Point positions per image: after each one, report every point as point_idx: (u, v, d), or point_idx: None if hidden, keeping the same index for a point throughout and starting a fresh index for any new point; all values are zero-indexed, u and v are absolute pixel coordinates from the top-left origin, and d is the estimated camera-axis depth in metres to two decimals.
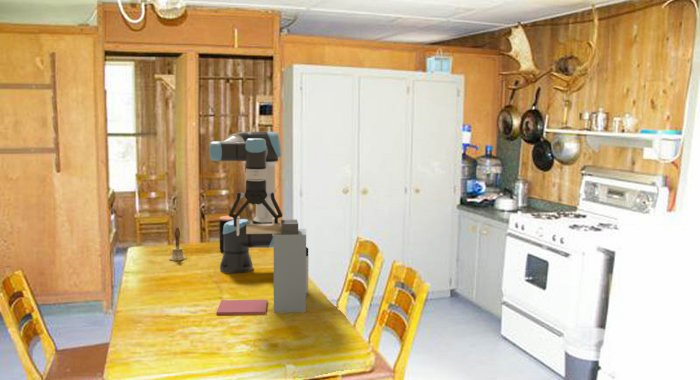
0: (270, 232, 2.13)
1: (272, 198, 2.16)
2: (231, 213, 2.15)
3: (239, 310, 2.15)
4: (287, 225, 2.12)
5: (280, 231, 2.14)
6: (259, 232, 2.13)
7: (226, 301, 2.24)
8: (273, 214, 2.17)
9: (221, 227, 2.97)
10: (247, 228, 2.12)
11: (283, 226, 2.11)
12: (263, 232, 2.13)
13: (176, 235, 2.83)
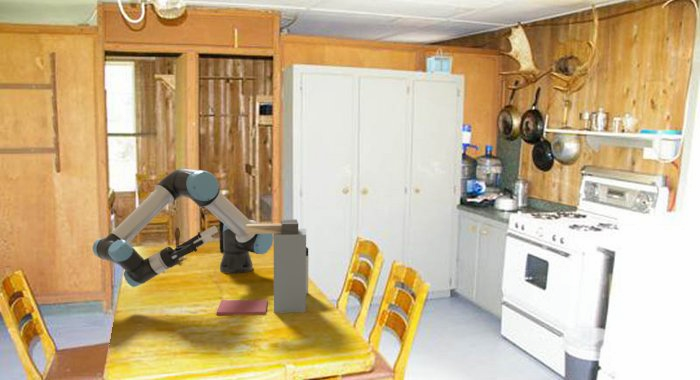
0: (270, 232, 2.13)
1: None
2: None
3: (239, 310, 2.15)
4: (287, 225, 2.12)
5: (280, 231, 2.14)
6: (259, 232, 2.12)
7: (226, 301, 2.24)
8: None
9: (221, 227, 2.97)
10: (247, 228, 2.11)
11: (283, 226, 2.11)
12: (263, 232, 2.13)
13: (176, 235, 2.83)
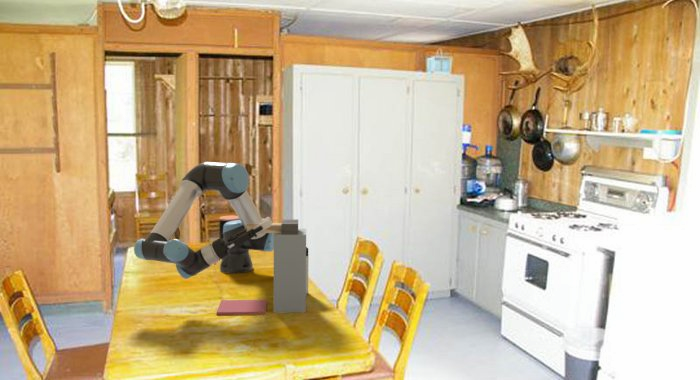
0: (270, 232, 2.14)
1: None
2: None
3: (239, 310, 2.15)
4: (286, 225, 2.12)
5: (280, 231, 2.14)
6: None
7: (226, 301, 2.24)
8: None
9: (221, 227, 2.97)
10: (247, 227, 2.13)
11: (282, 226, 2.12)
12: (263, 231, 2.14)
13: (176, 235, 2.83)
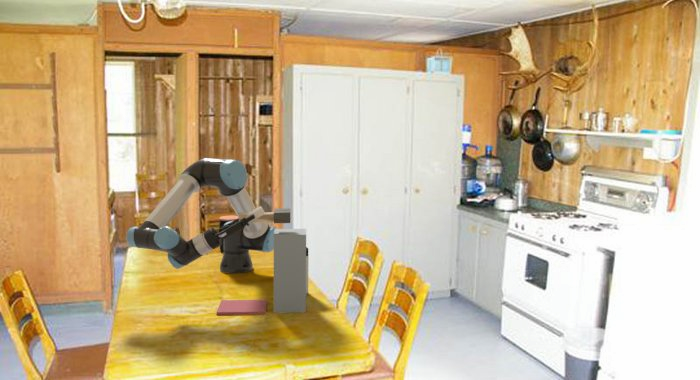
0: (262, 221, 2.13)
1: (227, 236, 2.09)
2: None
3: (239, 310, 2.15)
4: (279, 214, 2.11)
5: (272, 220, 2.14)
6: None
7: (226, 301, 2.24)
8: None
9: None
10: (239, 217, 2.12)
11: (275, 215, 2.11)
12: (255, 221, 2.13)
13: None
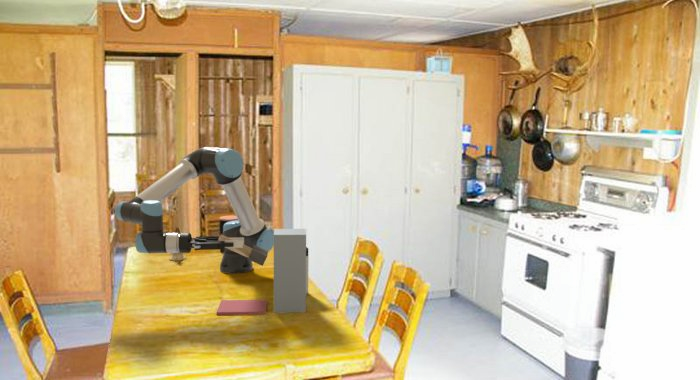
0: (238, 252, 2.15)
1: None
2: None
3: (239, 310, 2.15)
4: (256, 253, 2.13)
5: (248, 255, 2.15)
6: None
7: (226, 301, 2.24)
8: None
9: (221, 227, 2.97)
10: (219, 239, 2.13)
11: (252, 252, 2.13)
12: (232, 249, 2.14)
13: None
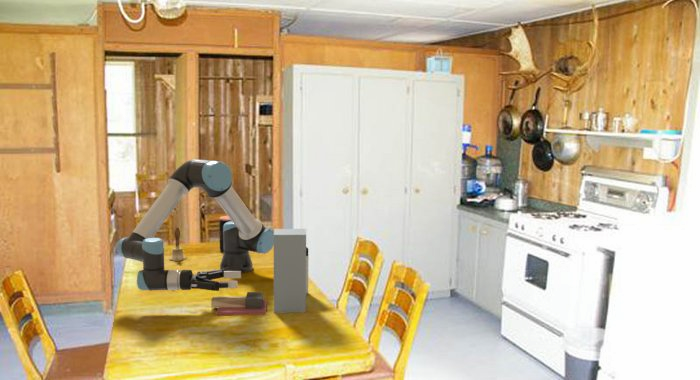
0: (235, 306, 2.18)
1: None
2: None
3: (239, 310, 2.15)
4: (250, 300, 2.16)
5: (244, 305, 2.18)
6: (224, 306, 2.18)
7: None
8: None
9: (221, 227, 2.97)
10: (212, 302, 2.17)
11: (246, 301, 2.16)
12: (228, 306, 2.18)
13: (176, 235, 2.83)
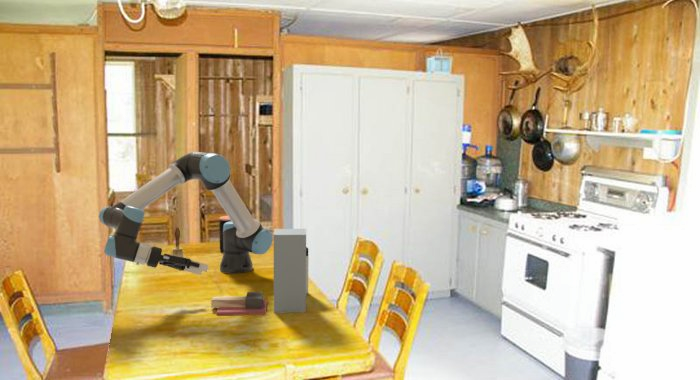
0: (235, 306, 2.18)
1: (168, 261, 2.10)
2: (178, 269, 2.26)
3: (239, 310, 2.15)
4: (250, 300, 2.16)
5: (244, 305, 2.18)
6: (224, 306, 2.18)
7: None
8: (184, 265, 2.12)
9: (221, 227, 2.97)
10: (212, 302, 2.17)
11: (246, 301, 2.16)
12: (228, 306, 2.18)
13: (176, 235, 2.83)
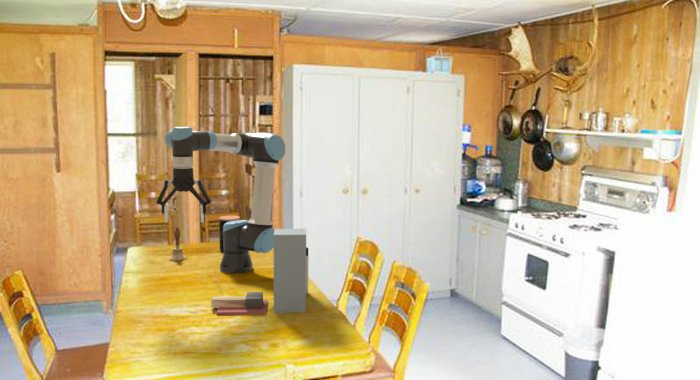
0: (235, 306, 2.18)
1: (199, 185, 2.20)
2: (159, 200, 2.20)
3: (239, 310, 2.15)
4: (250, 300, 2.16)
5: (244, 305, 2.18)
6: (224, 306, 2.18)
7: None
8: (201, 201, 2.21)
9: (221, 227, 2.97)
10: (212, 302, 2.17)
11: (246, 301, 2.16)
12: (228, 306, 2.18)
13: (176, 235, 2.83)
